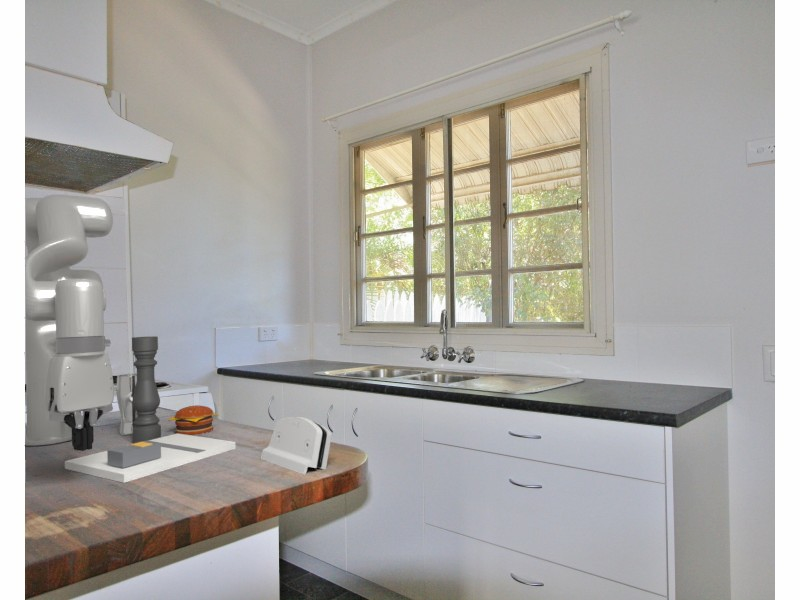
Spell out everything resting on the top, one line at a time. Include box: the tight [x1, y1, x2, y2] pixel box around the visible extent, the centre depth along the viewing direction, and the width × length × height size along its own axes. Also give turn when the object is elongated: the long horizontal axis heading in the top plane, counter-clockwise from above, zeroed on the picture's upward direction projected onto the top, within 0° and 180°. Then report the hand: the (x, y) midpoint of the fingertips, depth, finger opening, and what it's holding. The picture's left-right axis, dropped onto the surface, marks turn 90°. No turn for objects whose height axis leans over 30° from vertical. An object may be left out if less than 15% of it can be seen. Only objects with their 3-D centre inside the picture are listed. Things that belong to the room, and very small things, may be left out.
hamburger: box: [168, 404, 220, 436], centre depth 139 cm, size 9×10×7 cm
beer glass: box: [116, 372, 138, 436], centre depth 139 cm, size 7×7×15 cm
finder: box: [106, 441, 161, 468], centre depth 106 cm, size 5×8×3 cm, turn 149°
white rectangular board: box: [64, 433, 236, 484], centre depth 114 cm, size 20×26×2 cm
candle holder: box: [131, 335, 162, 444], centre depth 130 cm, size 6×6×25 cm
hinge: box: [260, 416, 332, 476], centre depth 108 cm, size 17×5×10 cm, turn 44°
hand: (83, 449), depth 97 cm, fingers closed
